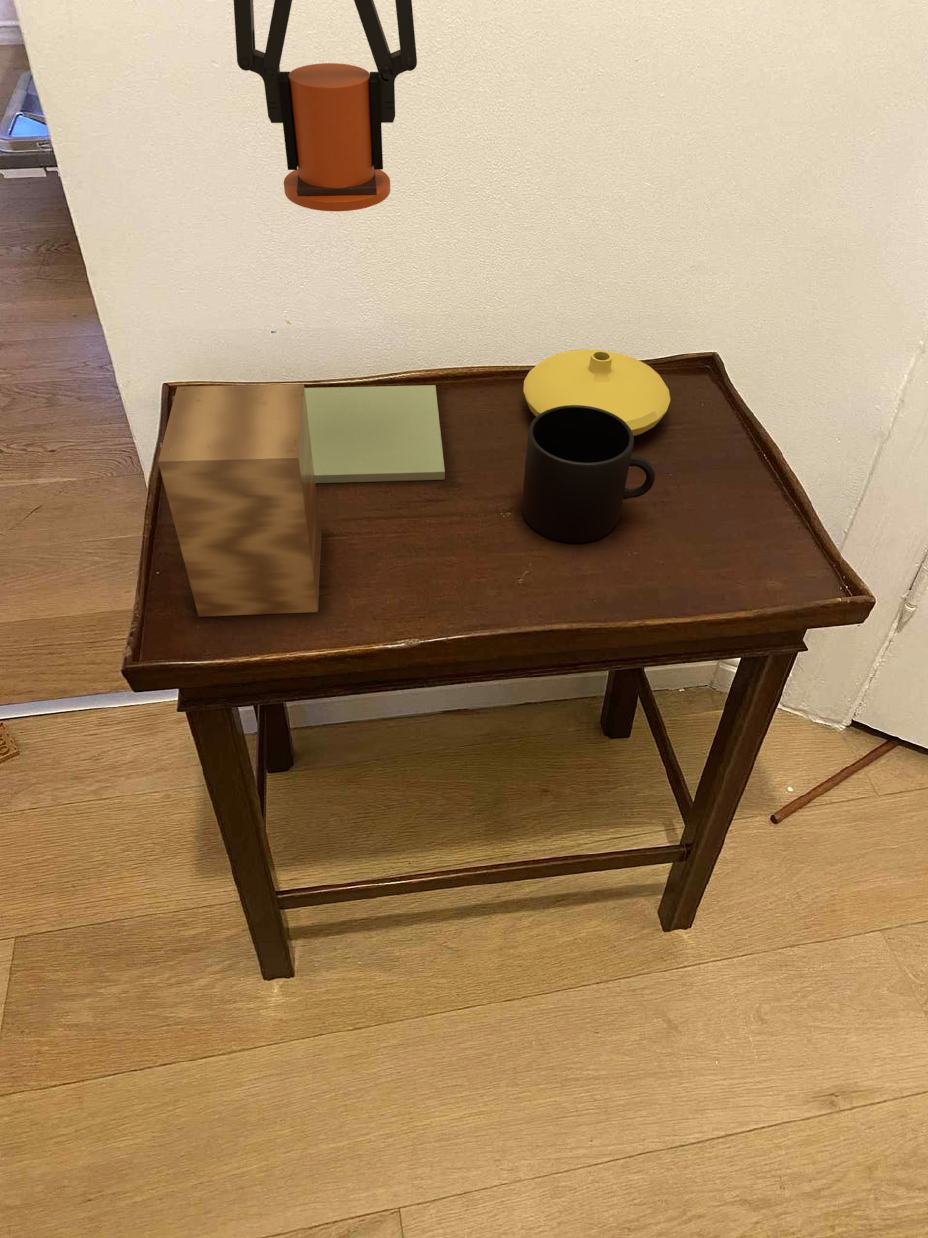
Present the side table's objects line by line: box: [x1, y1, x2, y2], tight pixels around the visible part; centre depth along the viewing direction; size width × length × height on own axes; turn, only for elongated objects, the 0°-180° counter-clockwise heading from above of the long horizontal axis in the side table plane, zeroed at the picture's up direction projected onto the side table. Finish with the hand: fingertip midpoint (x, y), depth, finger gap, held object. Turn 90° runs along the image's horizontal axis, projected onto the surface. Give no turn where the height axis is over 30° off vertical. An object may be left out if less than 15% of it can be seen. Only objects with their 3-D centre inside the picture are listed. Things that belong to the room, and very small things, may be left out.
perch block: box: [157, 383, 322, 618], centre depth 75 cm, size 10×10×16 cm
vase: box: [522, 348, 671, 437], centre depth 97 cm, size 16×16×7 cm
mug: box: [521, 405, 656, 544], centre depth 85 cm, size 9×12×9 cm
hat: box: [283, 62, 391, 212], centre depth 75 cm, size 9×9×9 cm
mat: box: [304, 384, 446, 484], centre depth 95 cm, size 18×16×1 cm
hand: (335, 163), depth 76 cm, fingers closed on hat, 6 cm apart
